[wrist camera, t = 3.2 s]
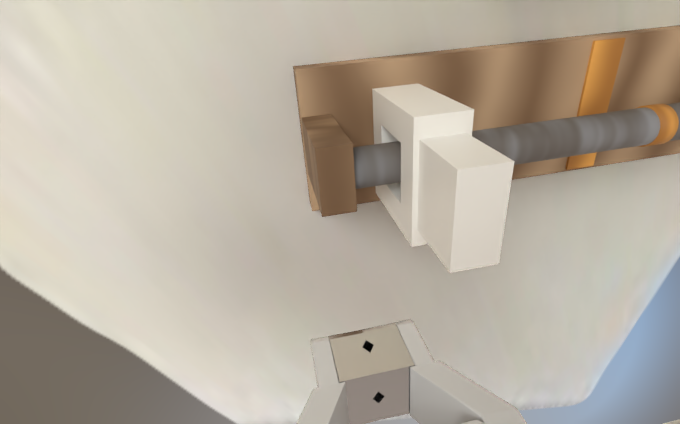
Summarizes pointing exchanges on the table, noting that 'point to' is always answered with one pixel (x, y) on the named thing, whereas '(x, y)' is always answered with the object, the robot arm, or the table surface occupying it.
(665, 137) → the pipe stand
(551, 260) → the table surface
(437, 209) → the collar
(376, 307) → the table surface
